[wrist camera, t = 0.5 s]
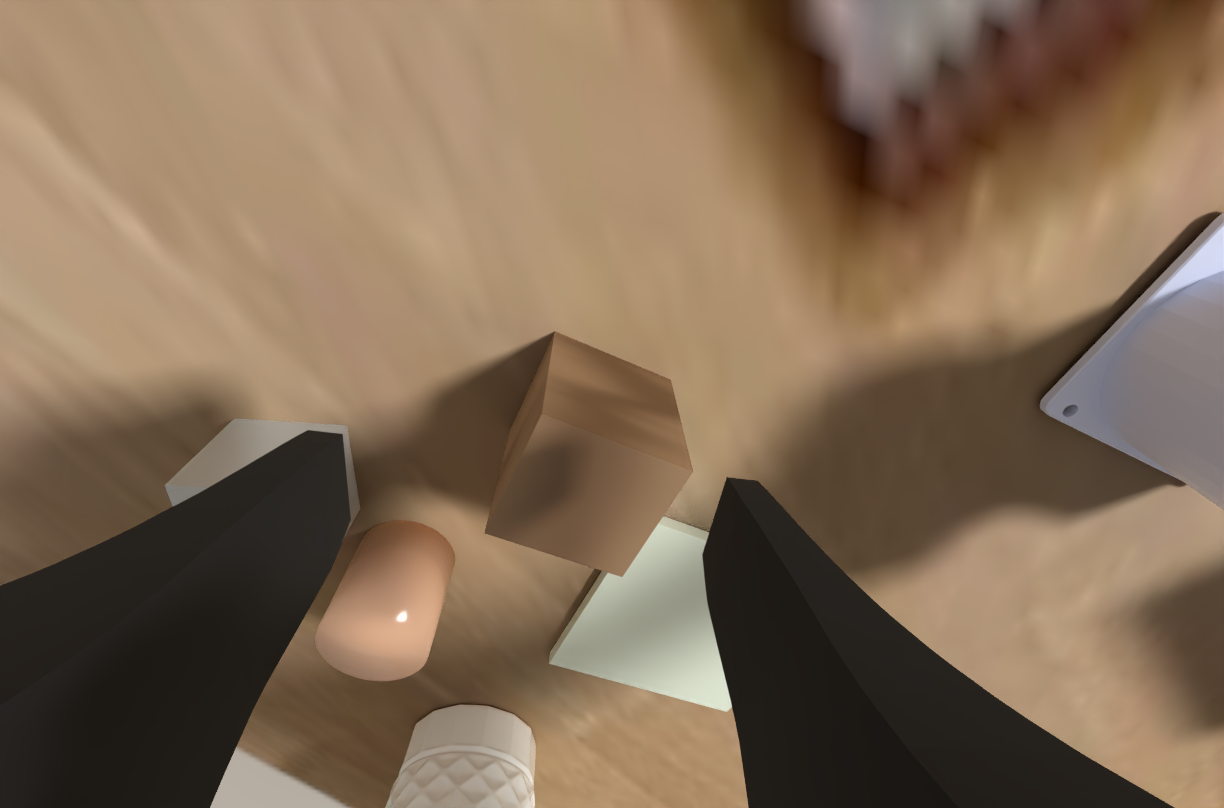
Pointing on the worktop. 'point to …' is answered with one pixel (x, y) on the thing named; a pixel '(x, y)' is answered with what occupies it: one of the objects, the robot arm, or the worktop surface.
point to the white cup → (467, 761)
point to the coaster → (651, 623)
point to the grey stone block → (250, 456)
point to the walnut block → (590, 459)
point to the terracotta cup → (388, 603)
